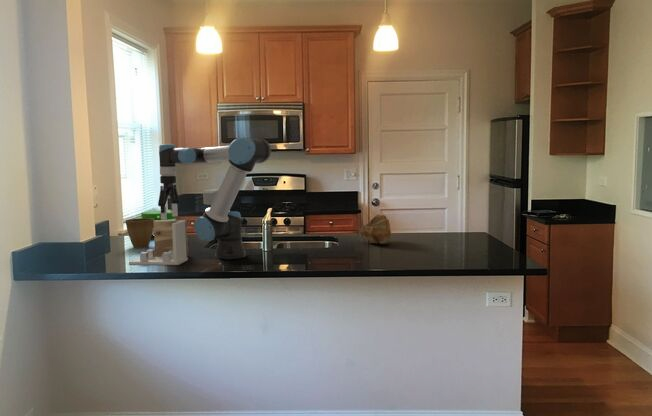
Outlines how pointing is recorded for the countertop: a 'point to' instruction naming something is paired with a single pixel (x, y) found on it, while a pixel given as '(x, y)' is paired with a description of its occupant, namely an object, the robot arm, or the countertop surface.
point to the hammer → (209, 196)
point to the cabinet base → (176, 248)
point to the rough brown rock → (377, 230)
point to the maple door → (165, 236)
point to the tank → (156, 215)
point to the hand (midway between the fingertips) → (169, 217)
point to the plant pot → (140, 231)
